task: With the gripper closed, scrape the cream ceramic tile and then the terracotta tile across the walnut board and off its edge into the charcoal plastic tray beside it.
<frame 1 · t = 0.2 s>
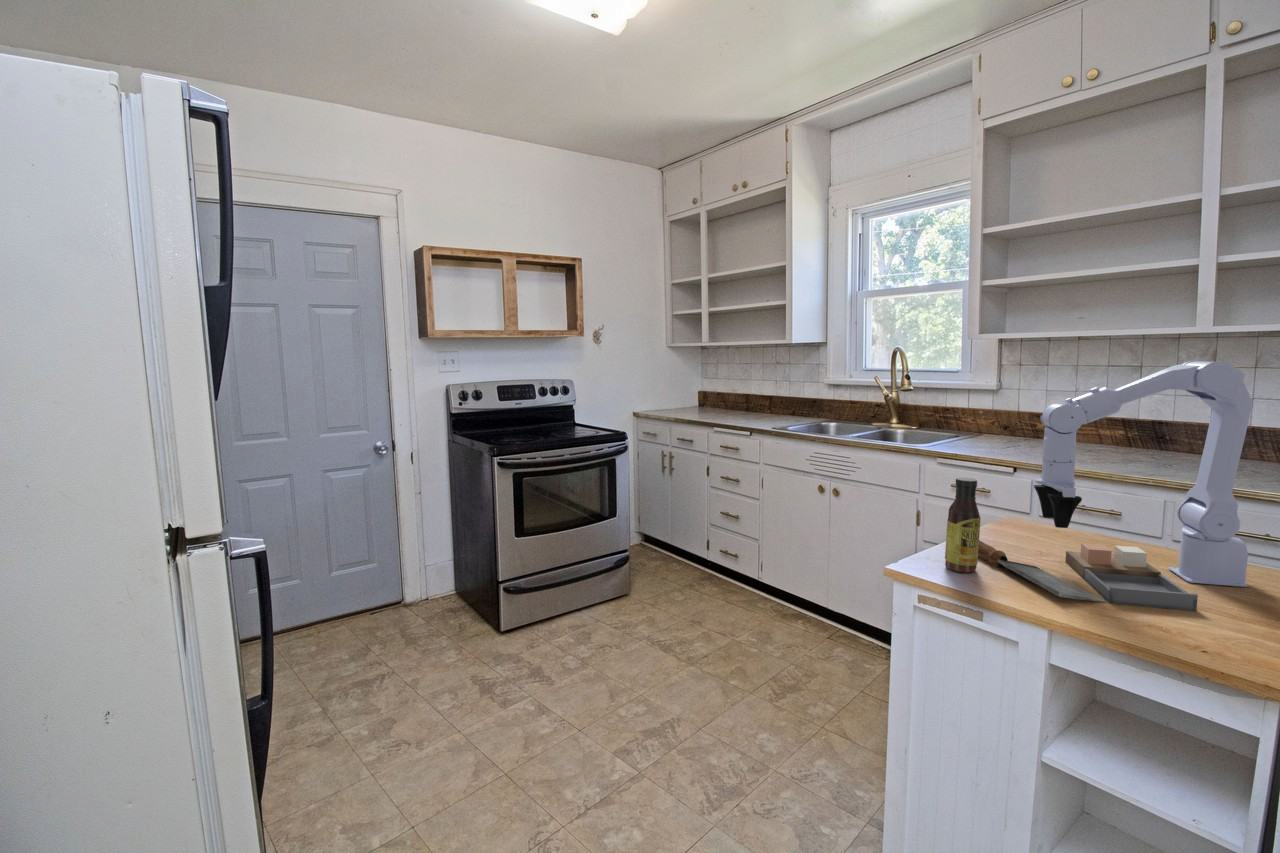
hand: (1054, 522, 130), 10 cm above the counter, tool pointing down, fingers open, 7 cm apart
walnut board: (1110, 572, 126), on the counter
meat cleaver: (1025, 573, 129), on the counter, touching charcoal tray
charcoal tray: (1136, 593, 115), on the counter
cream tile: (1129, 563, 125), point 2 cm above the counter, touching walnut board
sauce bottle: (961, 569, 130), on the counter
terracotta tile: (1095, 560, 126), point 2 cm above the counter, touching walnut board
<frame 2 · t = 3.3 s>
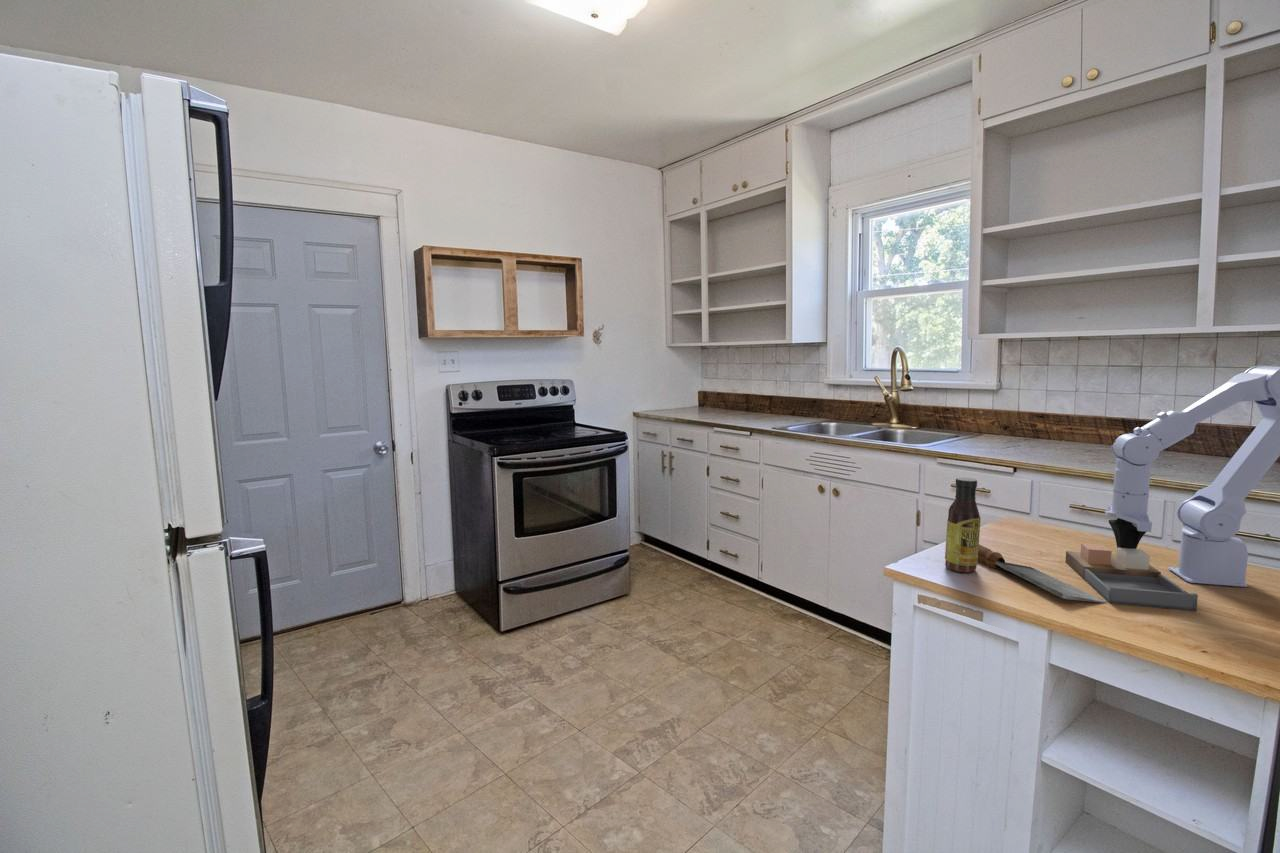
hand: (1125, 555, 126), 4 cm above the counter, tool pointing down, fingers closed
meat cleaver: (1022, 574, 128), on the counter
cream tile: (1132, 565, 123), point 3 cm above the counter, touching gripper, walnut board
everything else where it was.
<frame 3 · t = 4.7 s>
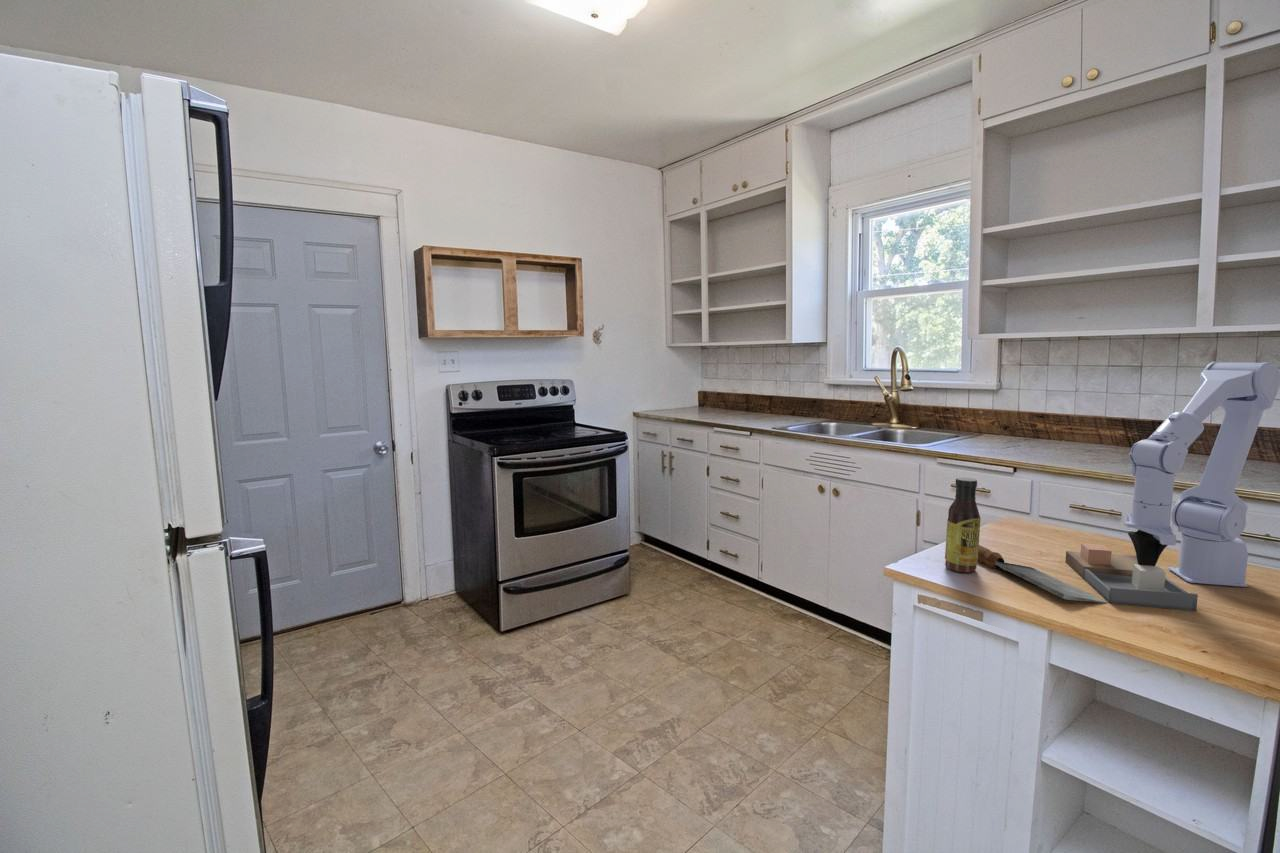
hand: (1146, 569, 118), 4 cm above the counter, tool pointing down, fingers closed, pressing on cream tile
cream tile: (1144, 574, 118), point 3 cm above the counter, tilted 95°, touching charcoal tray, gripper
everything else where it was.
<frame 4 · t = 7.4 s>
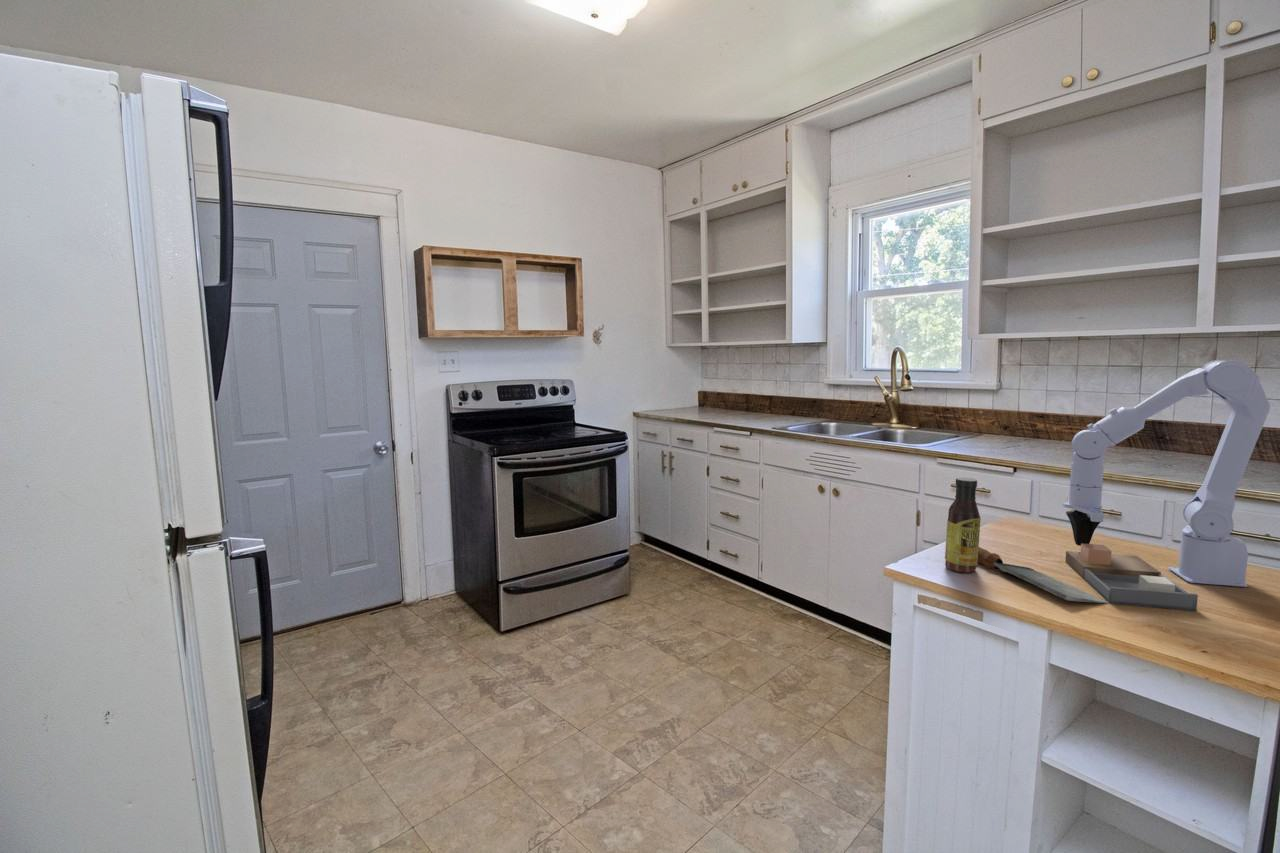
hand: (1081, 544, 133), 4 cm above the counter, tool pointing down, fingers closed
meat cleaver: (1020, 575, 128), on the counter, touching charcoal tray
cream tile: (1156, 579, 113), point 3 cm above the counter, tilted 180°, touching charcoal tray
everything else where it was.
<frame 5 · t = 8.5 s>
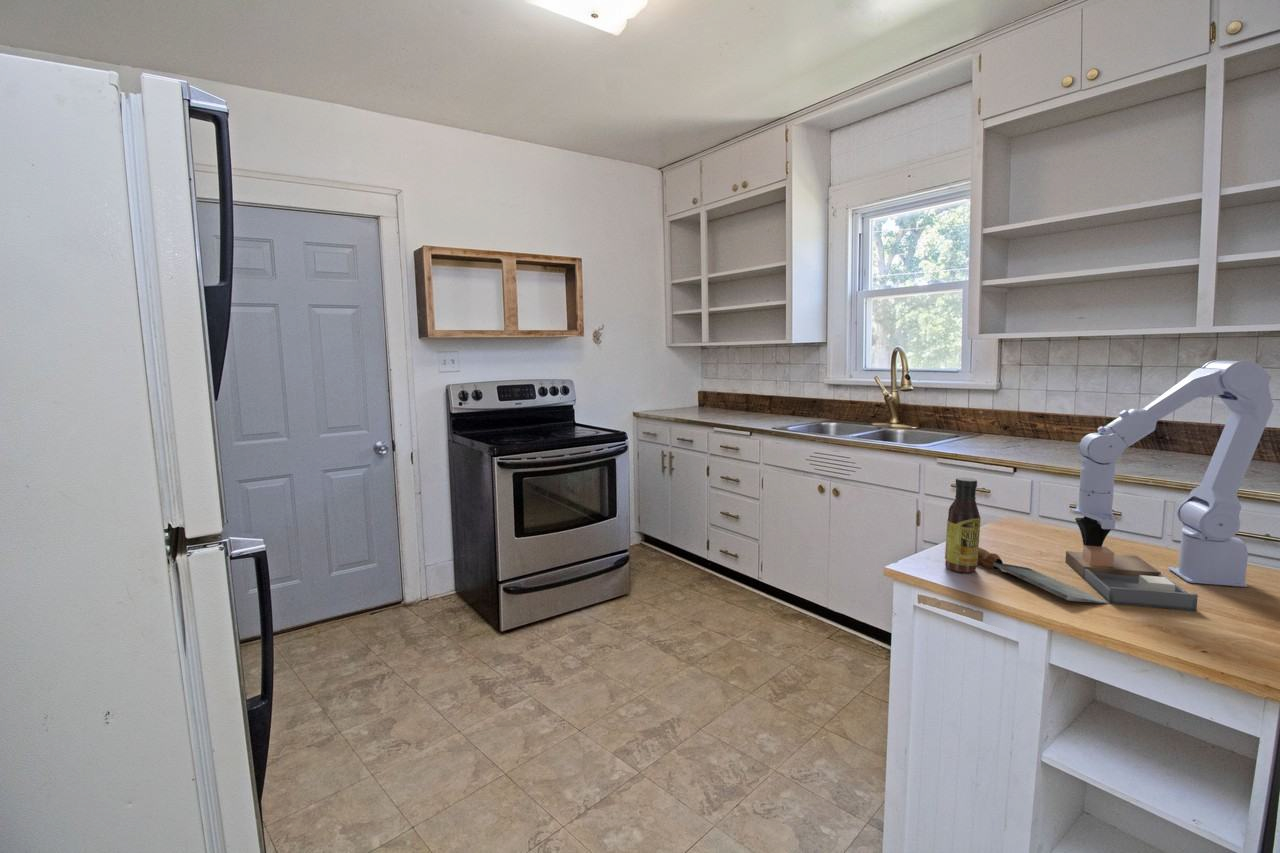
hand: (1091, 552, 128), 4 cm above the counter, tool pointing down, fingers closed
meat cleaver: (1020, 575, 127), on the counter
terracotta tile: (1097, 562, 125), point 3 cm above the counter, touching gripper, walnut board
everything else where it was.
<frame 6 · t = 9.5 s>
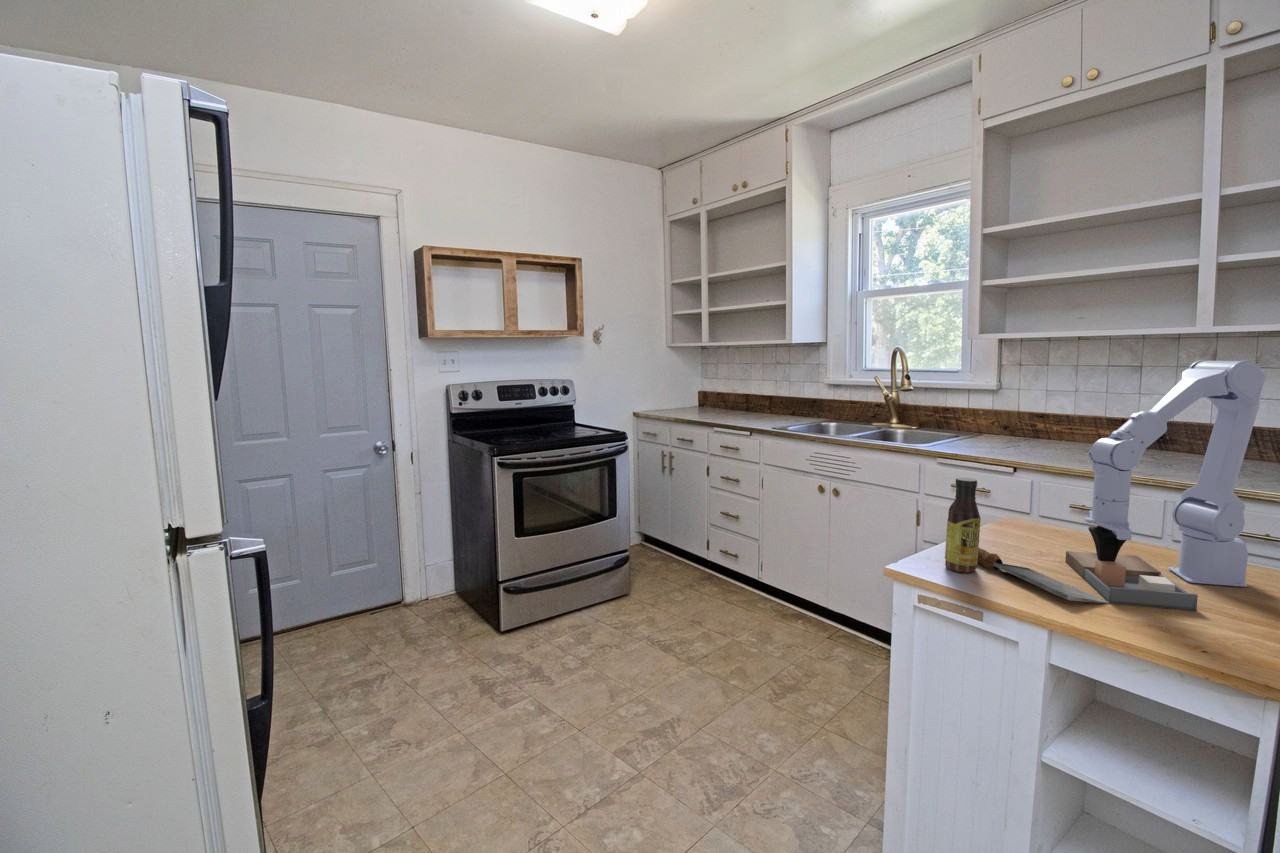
hand: (1105, 564, 121), 4 cm above the counter, tool pointing down, fingers closed
meat cleaver: (1020, 575, 127), on the counter, touching charcoal tray
terracotta tile: (1106, 570, 121), point 3 cm above the counter, tilted 90°, touching charcoal tray, gripper
everything else where it was.
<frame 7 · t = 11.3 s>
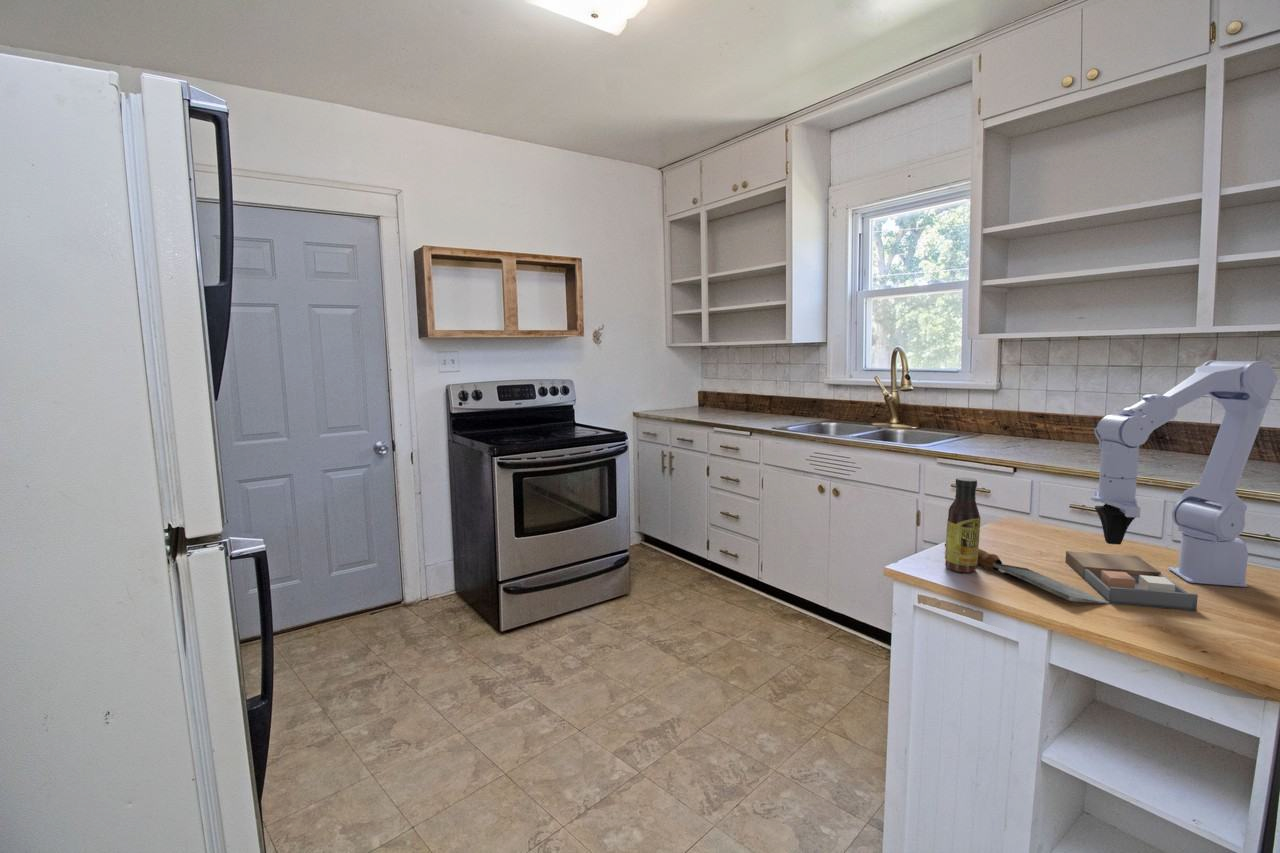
hand: (1113, 543, 119), 8 cm above the counter, tool pointing down, fingers closed
terracotta tile: (1118, 574, 116), point 3 cm above the counter, tilted 180°, touching charcoal tray
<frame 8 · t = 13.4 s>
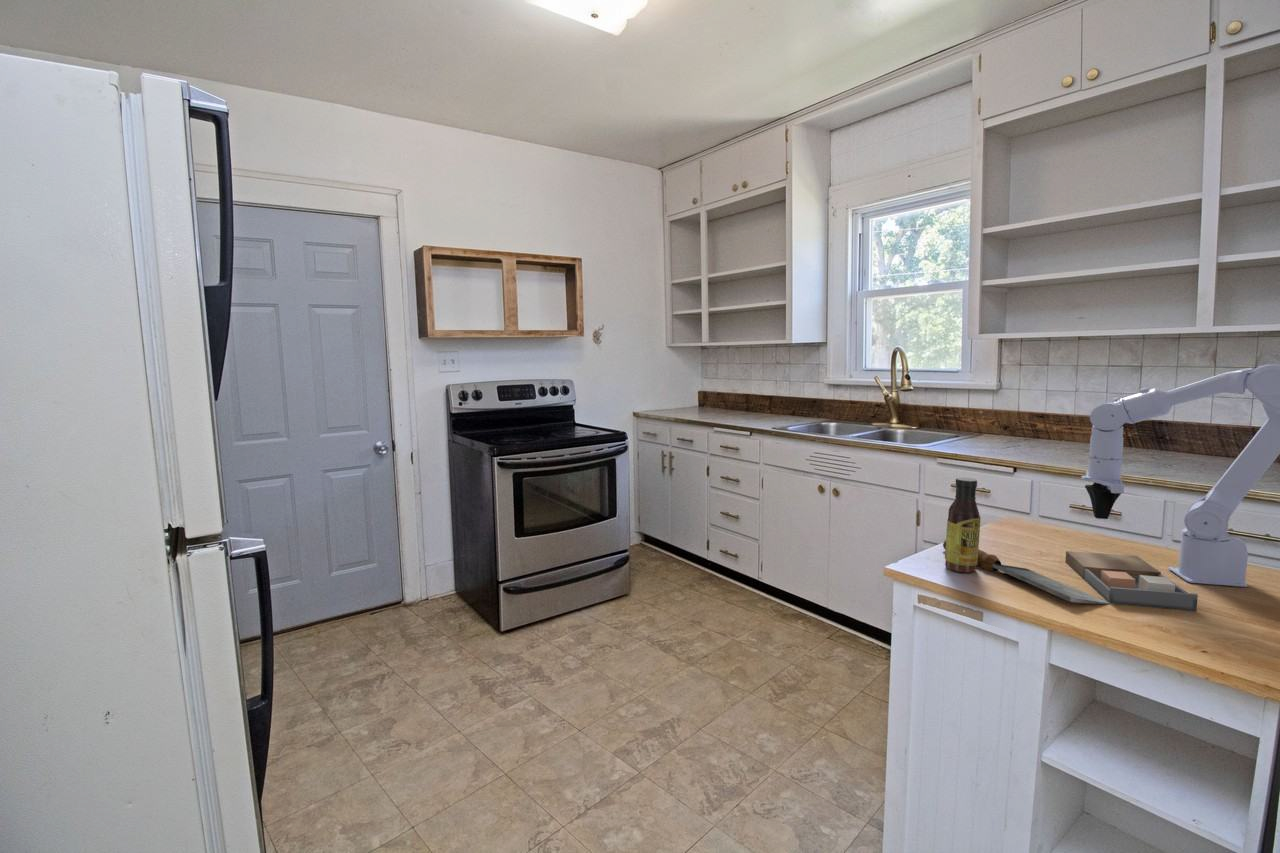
hand: (1101, 518, 133), 9 cm above the counter, tool pointing down, fingers closed
meat cleaver: (1019, 576, 127), on the counter
everything else where it was.
at the end: cream tile inside the target area on the charcoal tray (2.8 cm from its centre), point 3.5 cm above the charcoal tray's base; terracotta tile inside the target area on the charcoal tray (3.1 cm from its centre), point 3.5 cm above the charcoal tray's base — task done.
